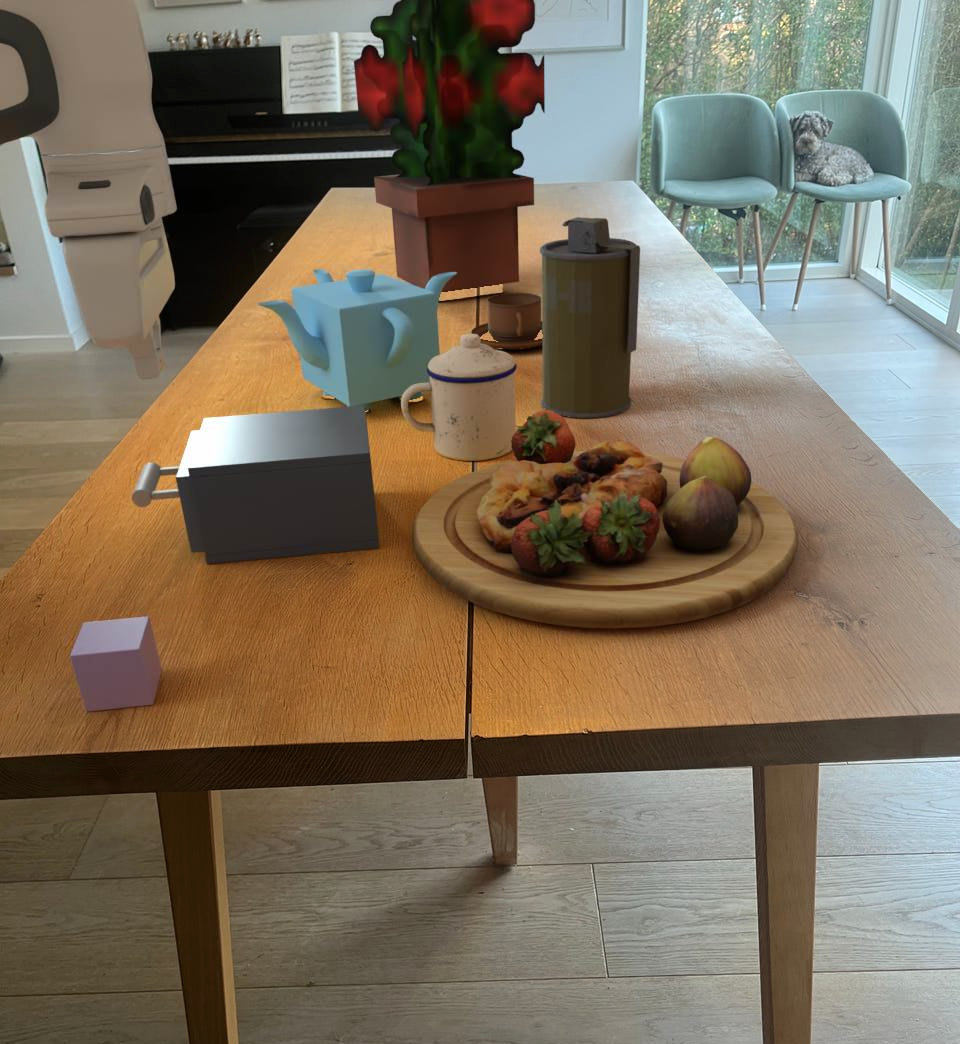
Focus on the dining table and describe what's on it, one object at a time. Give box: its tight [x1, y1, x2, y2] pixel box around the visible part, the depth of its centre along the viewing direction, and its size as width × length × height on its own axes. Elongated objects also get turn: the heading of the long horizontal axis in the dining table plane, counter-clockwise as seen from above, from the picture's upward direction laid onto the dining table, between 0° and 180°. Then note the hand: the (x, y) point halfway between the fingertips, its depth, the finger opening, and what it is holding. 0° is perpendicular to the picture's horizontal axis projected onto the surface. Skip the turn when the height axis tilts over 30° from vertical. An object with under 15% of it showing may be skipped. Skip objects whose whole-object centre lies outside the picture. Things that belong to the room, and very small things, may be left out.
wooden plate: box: [411, 409, 799, 629], centre depth 85 cm, size 32×32×8 cm
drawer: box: [131, 429, 205, 554], centre depth 89 cm, size 18×11×7 cm, turn 98°
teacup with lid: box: [400, 333, 518, 462], centre depth 104 cm, size 12×9×12 cm
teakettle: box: [257, 268, 457, 411], centre depth 120 cm, size 19×19×15 cm
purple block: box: [69, 616, 163, 713], centre depth 69 cm, size 4×4×4 cm
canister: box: [539, 216, 641, 419], centre depth 113 cm, size 11×10×20 cm
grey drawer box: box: [188, 405, 380, 565], centre depth 90 cm, size 15×13×9 cm
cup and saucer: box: [470, 292, 543, 350], centre depth 140 cm, size 12×12×6 cm
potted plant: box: [353, 0, 546, 292], centre depth 160 cm, size 22×22×45 cm
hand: (152, 374), depth 84 cm, fingers closed
